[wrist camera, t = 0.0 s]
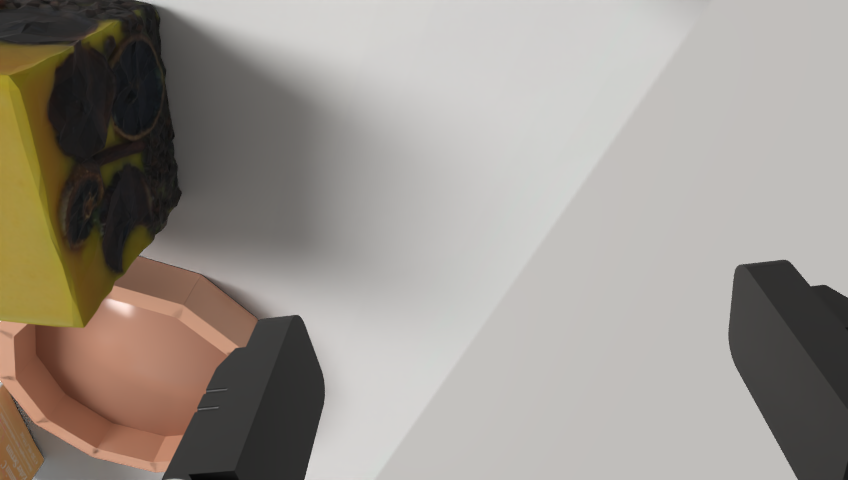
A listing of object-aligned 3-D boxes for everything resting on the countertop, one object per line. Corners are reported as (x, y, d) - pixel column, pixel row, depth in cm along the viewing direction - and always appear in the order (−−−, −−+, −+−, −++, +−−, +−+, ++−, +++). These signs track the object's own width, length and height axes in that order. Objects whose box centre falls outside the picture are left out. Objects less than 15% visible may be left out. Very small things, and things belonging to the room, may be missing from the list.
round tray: (-29, 274, 34) (-62, 303, 32) (222, 239, 32) (204, 269, 29) (98, 445, 42) (79, 478, 40) (305, 427, 40) (296, 461, 37)
